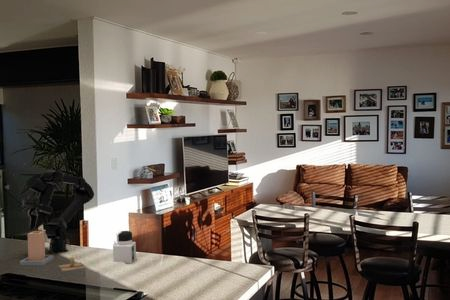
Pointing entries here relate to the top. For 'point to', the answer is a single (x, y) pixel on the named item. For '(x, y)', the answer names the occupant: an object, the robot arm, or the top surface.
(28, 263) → the tray
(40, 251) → the sleeve
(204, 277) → the top surface
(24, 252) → the top surface
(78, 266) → the stake block
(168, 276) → the top surface
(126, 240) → the container
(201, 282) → the top surface
